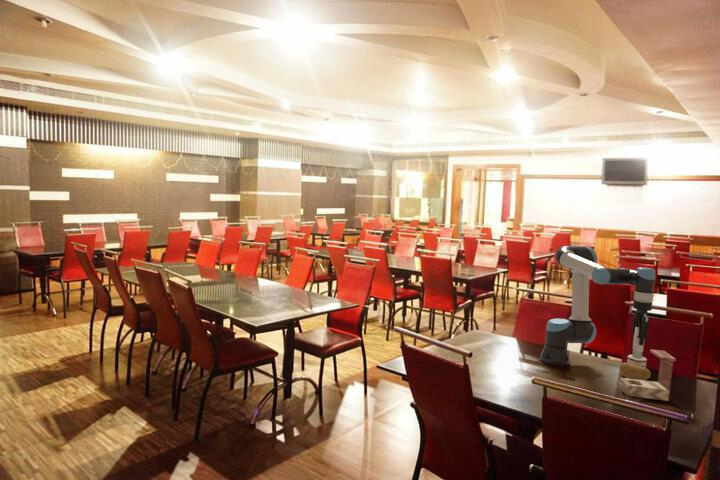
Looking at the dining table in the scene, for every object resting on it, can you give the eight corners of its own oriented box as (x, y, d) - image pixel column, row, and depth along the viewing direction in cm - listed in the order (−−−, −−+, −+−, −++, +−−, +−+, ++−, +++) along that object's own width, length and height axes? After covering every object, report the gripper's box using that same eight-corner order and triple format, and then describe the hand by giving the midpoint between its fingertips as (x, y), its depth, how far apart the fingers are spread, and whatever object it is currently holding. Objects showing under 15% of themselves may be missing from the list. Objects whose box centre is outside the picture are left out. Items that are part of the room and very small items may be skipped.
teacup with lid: (642, 379, 246) (645, 357, 245) (623, 373, 252) (625, 352, 251) (649, 373, 254) (651, 352, 253) (630, 368, 260) (632, 348, 259)
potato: (647, 386, 235) (649, 371, 234) (616, 378, 244) (618, 363, 243) (651, 381, 242) (653, 366, 241) (621, 374, 251) (622, 359, 251)
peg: (633, 357, 222) (637, 328, 221) (630, 355, 226) (634, 326, 225) (642, 358, 222) (646, 329, 221) (639, 356, 226) (642, 327, 224)
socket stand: (626, 396, 221) (631, 354, 219) (617, 386, 232) (622, 346, 231) (670, 401, 217) (675, 358, 216) (659, 391, 229) (664, 350, 227)
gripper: (659, 305, 213) (653, 356, 215) (644, 298, 229) (639, 345, 231) (641, 303, 214) (635, 354, 216) (627, 296, 231) (622, 344, 233)
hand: (637, 349), depth 224 cm, fingers closed on peg, 4 cm apart
